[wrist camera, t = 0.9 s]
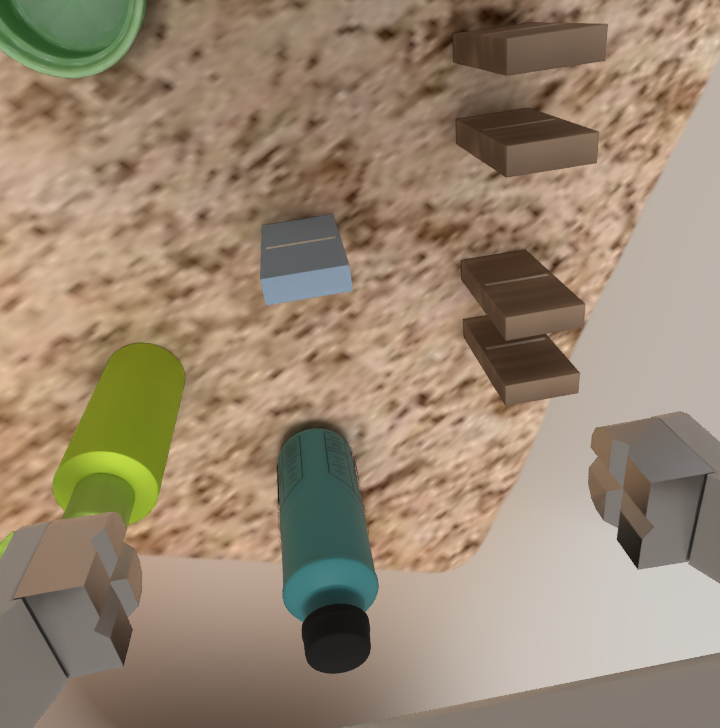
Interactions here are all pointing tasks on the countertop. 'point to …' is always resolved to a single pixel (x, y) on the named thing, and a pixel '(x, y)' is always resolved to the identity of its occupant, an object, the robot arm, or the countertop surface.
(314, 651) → the beverage bottle
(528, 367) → the domino
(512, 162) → the domino
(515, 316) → the domino
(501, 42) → the domino
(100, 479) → the soap dispenser
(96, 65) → the ramekin
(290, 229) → the domino
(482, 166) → the countertop surface
